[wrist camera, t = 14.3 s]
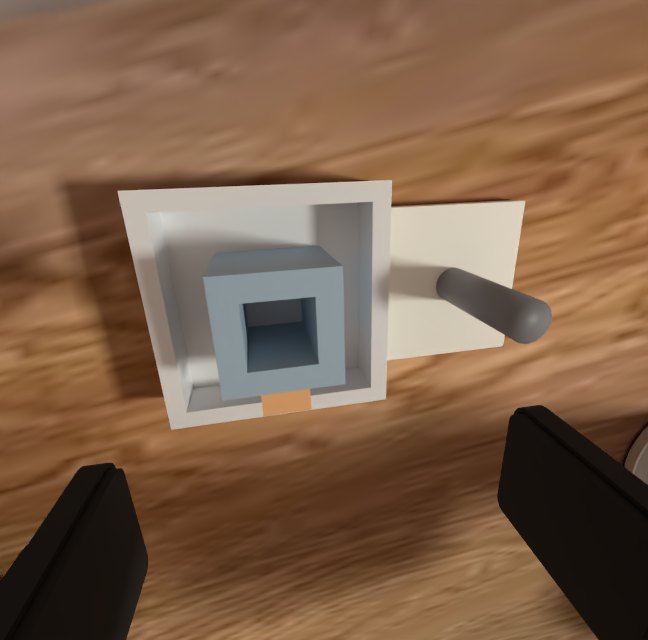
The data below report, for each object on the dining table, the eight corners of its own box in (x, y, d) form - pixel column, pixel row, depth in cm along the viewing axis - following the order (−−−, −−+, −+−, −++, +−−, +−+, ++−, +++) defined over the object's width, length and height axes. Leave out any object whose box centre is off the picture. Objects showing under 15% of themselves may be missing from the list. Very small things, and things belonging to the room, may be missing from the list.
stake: (492, 339, 27) (589, 400, 19) (378, 353, 26) (433, 424, 18) (512, 200, 24) (639, 206, 16) (381, 206, 22) (451, 217, 14)
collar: (319, 245, 21) (342, 266, 16) (324, 354, 24) (345, 404, 18) (215, 252, 20) (202, 277, 15) (232, 365, 23) (226, 421, 18)
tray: (369, 373, 26) (385, 399, 23) (181, 397, 24) (171, 429, 21) (370, 181, 22) (391, 180, 18) (139, 190, 19) (117, 190, 16)
